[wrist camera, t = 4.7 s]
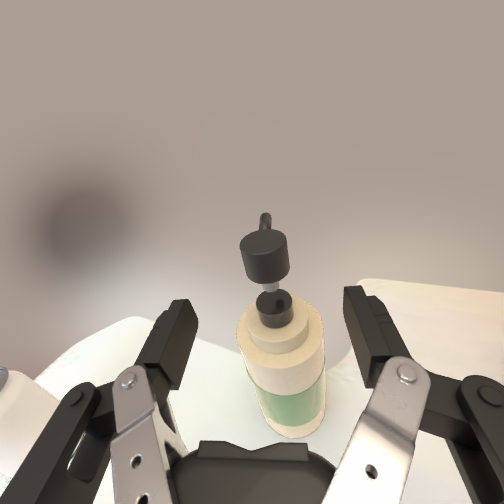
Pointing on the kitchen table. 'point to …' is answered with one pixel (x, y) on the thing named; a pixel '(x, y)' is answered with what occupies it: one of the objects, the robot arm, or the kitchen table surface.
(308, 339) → the dispenser
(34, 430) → the can
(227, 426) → the kitchen table surface
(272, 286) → the pump head
